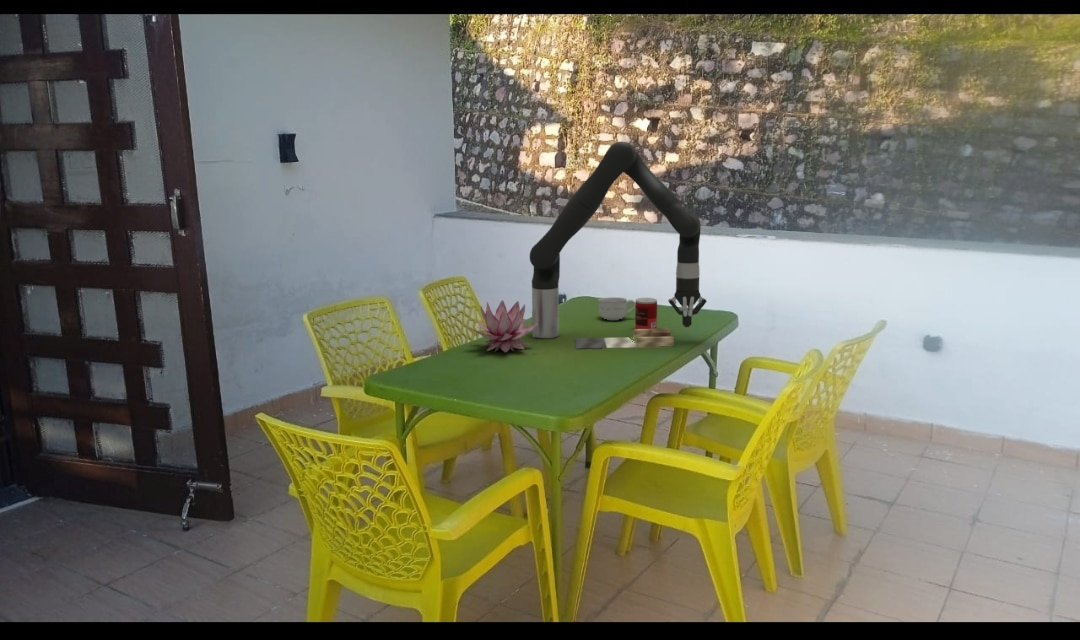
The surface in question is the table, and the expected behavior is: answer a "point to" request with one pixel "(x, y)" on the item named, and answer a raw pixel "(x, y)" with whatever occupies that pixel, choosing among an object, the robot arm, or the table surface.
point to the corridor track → (625, 341)
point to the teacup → (614, 307)
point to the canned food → (646, 313)
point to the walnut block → (660, 332)
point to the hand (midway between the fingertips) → (686, 326)
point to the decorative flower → (504, 327)
